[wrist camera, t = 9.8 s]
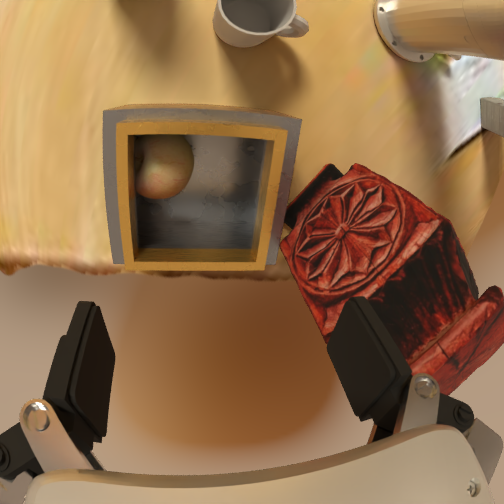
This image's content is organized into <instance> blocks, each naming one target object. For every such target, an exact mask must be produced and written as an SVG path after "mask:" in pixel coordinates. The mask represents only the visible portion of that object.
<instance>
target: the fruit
mask: <svg viewBox="0 0 504 504" xmlns="http://www.w3.org/2000/svg"><path fill="white" fill-rule="evenodd" d="M193 168H194V155H193V151H192V148H191V146H190V144H189V143H188V141H187V140H186V139H185V138H184V137H183V136H181V135H180V134H143V135H141V136H140V137H139V138H138V139H137V140H136V141H135V180H136V192H138V193H139V194H140V195H142V196H144V197H147V198H152V199H165V198H169V197H172V196H174V195H176V194H178V193H179V192H180V191H182V190H183V189H184V188H185V187H186V186H187V184H188V182H189V180H190V178H191V175H192V172H193Z"/></svg>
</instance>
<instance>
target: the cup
mask: <svg viewBox="0 0 504 504" xmlns="http://www.w3.org/2000/svg"><path fill="white" fill-rule="evenodd" d="M296 8H297V6H296V0H218V1H217V4H216V8H215V12H214V16H213V28H214V30H215V32H216V34H217V35H218V37H219V38H220V39H221V40H223V41H224V42H225V43H227V44H229V45H232V46H234V47H241V48H244V47H252V46H256V45H259V44H260V43H262V42H264V41H266V40H267V39H269V38H270V37H272V36H273V35H279V36H282V37H293V38H297V37H302V36H304V35H305V34H306V33H307V32H308V31H309V26H308V22H307V21H306V20H305V19H304V18H302V17H300V16H298V15H296Z"/></svg>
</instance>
